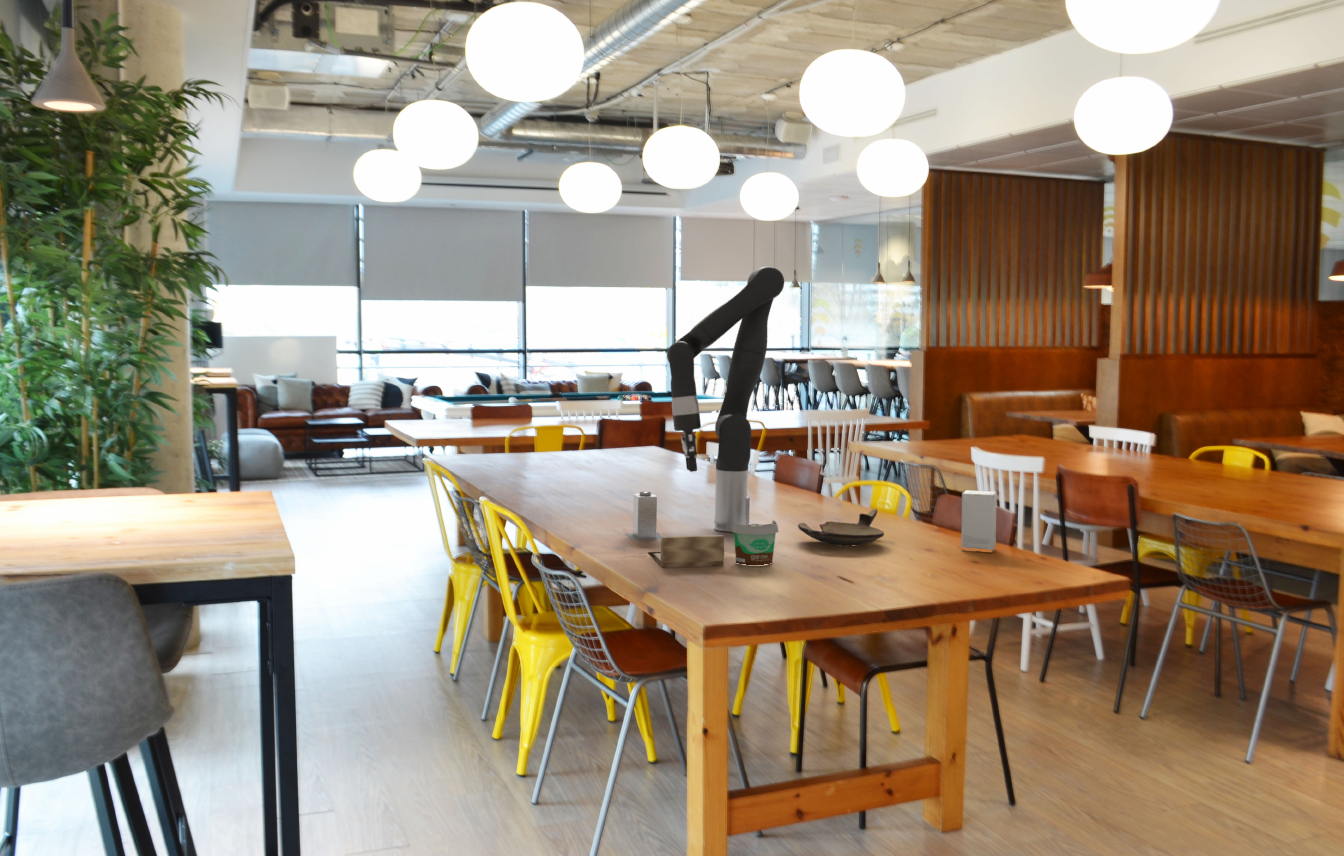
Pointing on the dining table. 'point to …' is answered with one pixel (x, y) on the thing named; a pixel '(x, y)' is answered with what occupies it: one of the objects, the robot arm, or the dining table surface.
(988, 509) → the skincare box
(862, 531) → the oil lamp
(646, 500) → the block
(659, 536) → the stand
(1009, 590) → the dining table surface
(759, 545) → the food container
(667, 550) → the dock
